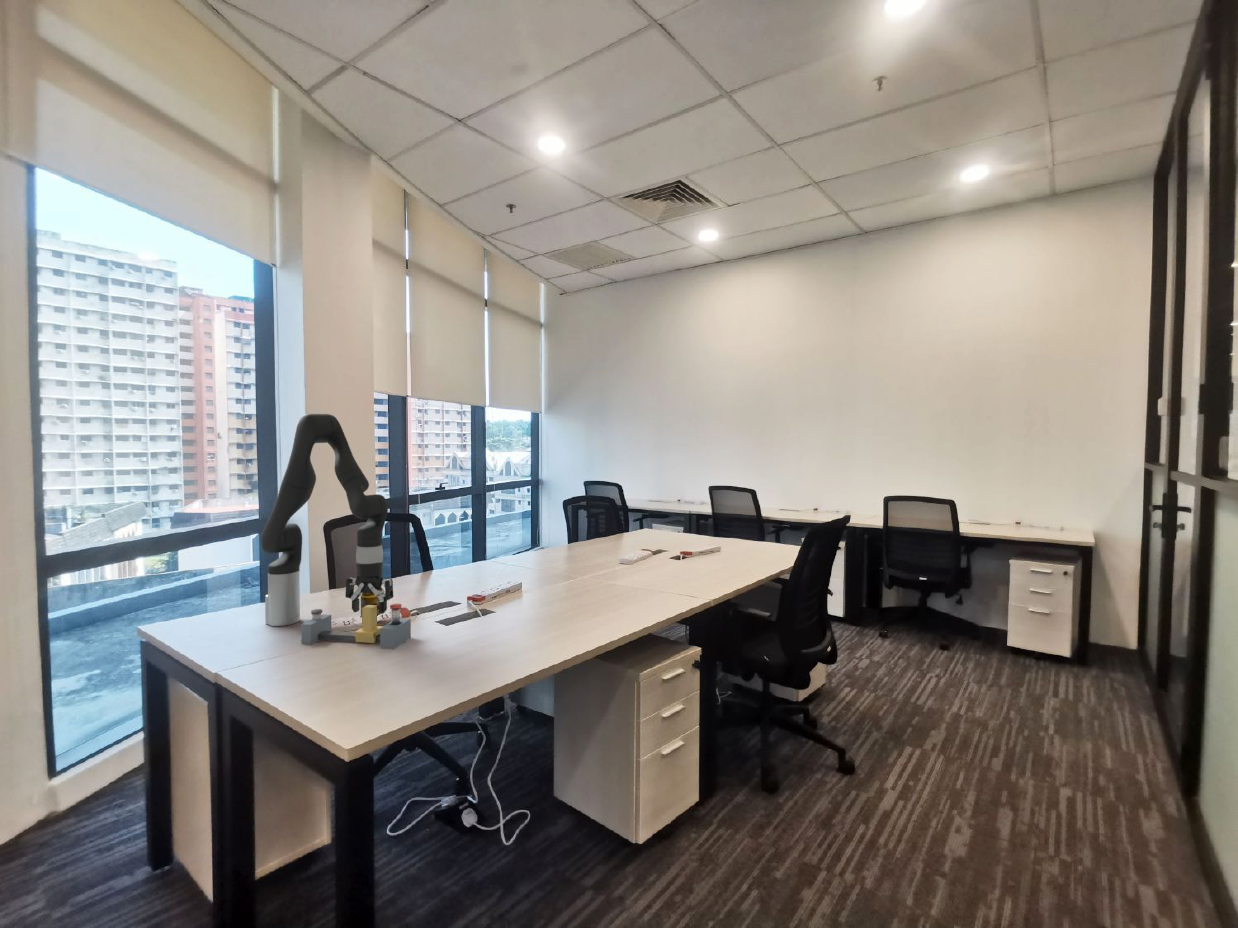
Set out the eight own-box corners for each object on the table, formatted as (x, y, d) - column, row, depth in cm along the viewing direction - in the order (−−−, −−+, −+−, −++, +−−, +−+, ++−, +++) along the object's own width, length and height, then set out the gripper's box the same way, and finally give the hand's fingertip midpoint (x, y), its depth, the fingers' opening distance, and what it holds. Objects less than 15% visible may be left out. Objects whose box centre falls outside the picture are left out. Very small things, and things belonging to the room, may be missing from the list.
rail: (318, 640, 172) (318, 633, 172) (324, 637, 175) (324, 630, 175) (386, 644, 170) (386, 637, 170) (391, 640, 173) (391, 634, 172)
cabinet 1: (301, 643, 169) (301, 615, 169) (322, 632, 179) (322, 605, 179) (310, 644, 169) (310, 615, 168) (331, 633, 179) (331, 606, 178)
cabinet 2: (380, 648, 166) (380, 628, 166) (397, 636, 176) (397, 617, 176) (394, 648, 166) (394, 628, 165) (410, 637, 176) (410, 618, 175)
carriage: (354, 642, 169) (354, 608, 169) (366, 635, 175) (365, 603, 175) (373, 643, 168) (373, 609, 168) (384, 636, 174) (383, 604, 174)
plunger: (388, 625, 169) (388, 606, 169) (393, 622, 172) (393, 603, 172) (398, 625, 169) (398, 606, 169) (403, 622, 172) (403, 603, 172)
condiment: (384, 621, 191) (384, 586, 191) (358, 626, 185) (358, 591, 185) (376, 616, 197) (376, 582, 196) (350, 621, 191) (350, 586, 190)
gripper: (340, 561, 168) (340, 614, 169) (385, 563, 166) (384, 617, 167) (354, 556, 176) (354, 607, 176) (397, 558, 174) (397, 610, 175)
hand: (369, 612), depth 172 cm, fingers open, 8 cm apart
